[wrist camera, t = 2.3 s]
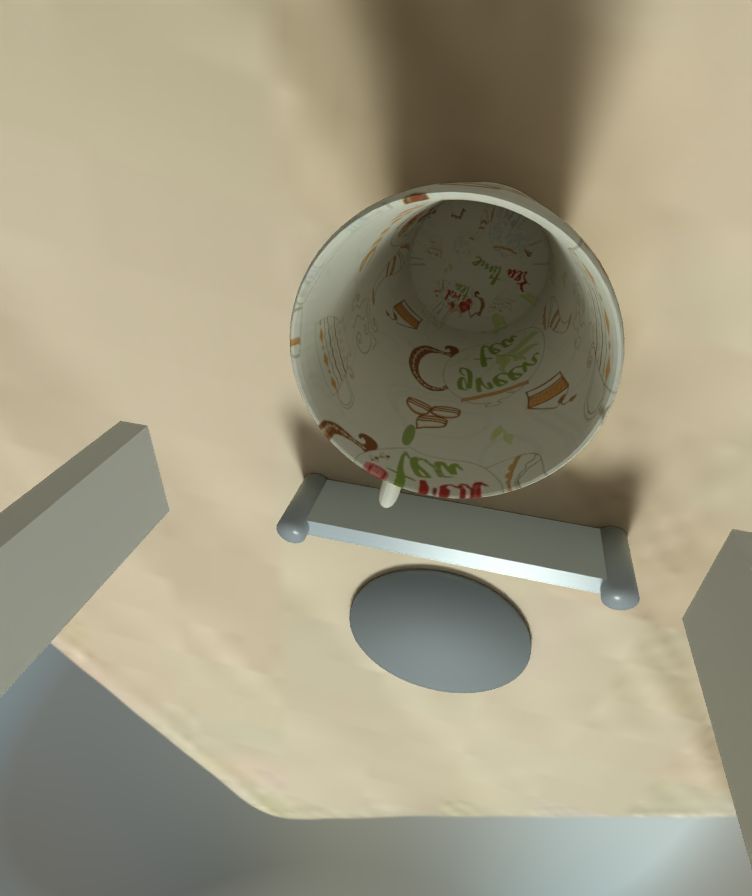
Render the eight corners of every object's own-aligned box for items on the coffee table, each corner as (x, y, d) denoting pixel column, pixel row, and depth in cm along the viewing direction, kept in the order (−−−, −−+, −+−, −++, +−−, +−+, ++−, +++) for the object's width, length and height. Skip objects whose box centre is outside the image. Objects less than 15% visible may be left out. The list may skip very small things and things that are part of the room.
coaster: (350, 552, 32) (348, 557, 32) (549, 593, 30) (549, 598, 30) (351, 664, 39) (349, 669, 39) (513, 704, 37) (512, 709, 37)
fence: (303, 471, 30) (275, 517, 26) (631, 529, 26) (644, 590, 23) (304, 492, 30) (277, 539, 27) (621, 551, 27) (633, 613, 24)
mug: (632, 183, 18) (707, 256, 10) (501, 455, 26) (486, 619, 18) (407, 117, 19) (313, 136, 11) (343, 402, 26) (260, 538, 18)
